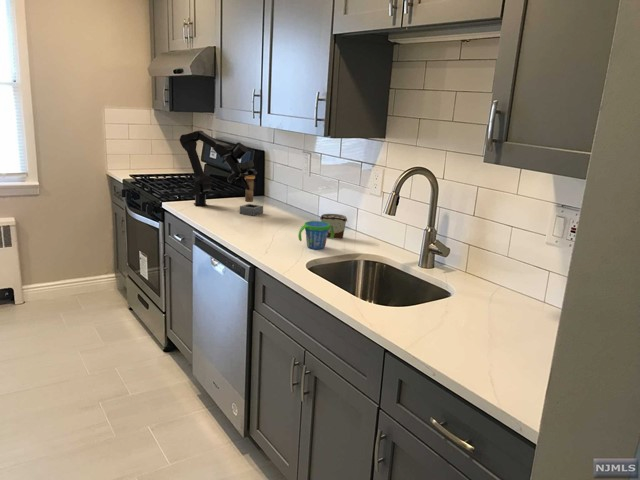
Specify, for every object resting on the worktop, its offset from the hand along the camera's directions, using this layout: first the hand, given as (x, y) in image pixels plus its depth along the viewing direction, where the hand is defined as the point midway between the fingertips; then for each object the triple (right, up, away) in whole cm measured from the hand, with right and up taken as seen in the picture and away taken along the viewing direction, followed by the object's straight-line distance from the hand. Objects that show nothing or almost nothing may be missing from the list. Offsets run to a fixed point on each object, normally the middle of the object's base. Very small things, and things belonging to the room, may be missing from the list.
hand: (251, 189), depth 258 cm
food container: (+41, -25, -29) cm, 56 cm away
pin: (-2, -6, +2) cm, 7 cm away
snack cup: (+33, -29, -48) cm, 65 cm away
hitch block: (-1, -12, +6) cm, 14 cm away
